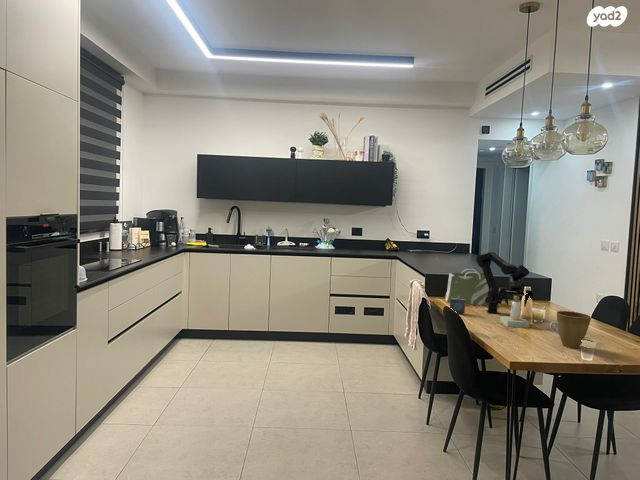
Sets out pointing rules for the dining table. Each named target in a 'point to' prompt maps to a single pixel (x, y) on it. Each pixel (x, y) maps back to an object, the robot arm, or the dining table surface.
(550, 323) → the teacup
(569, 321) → the plant pot
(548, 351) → the dining table surface
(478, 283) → the grocery bag
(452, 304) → the flask
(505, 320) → the stacking base
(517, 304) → the cosmetic bottle
